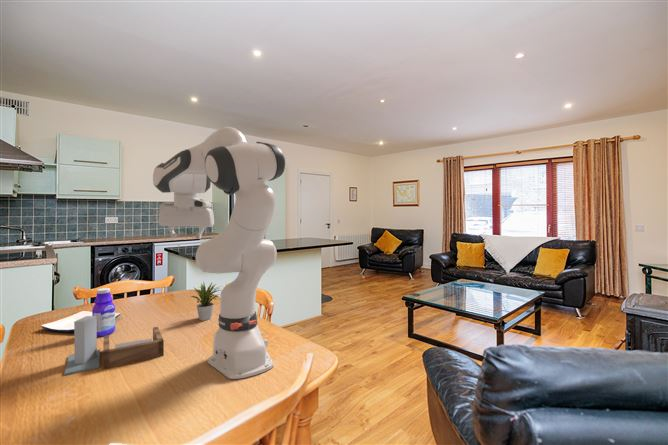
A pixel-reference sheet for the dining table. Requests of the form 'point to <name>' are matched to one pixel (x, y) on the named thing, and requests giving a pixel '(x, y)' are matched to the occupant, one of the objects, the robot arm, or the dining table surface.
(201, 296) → the house plant
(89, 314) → the plate
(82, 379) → the dining table surface
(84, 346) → the grey rectangular block
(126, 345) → the offcut stack
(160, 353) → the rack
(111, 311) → the bottle
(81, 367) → the slate mat
